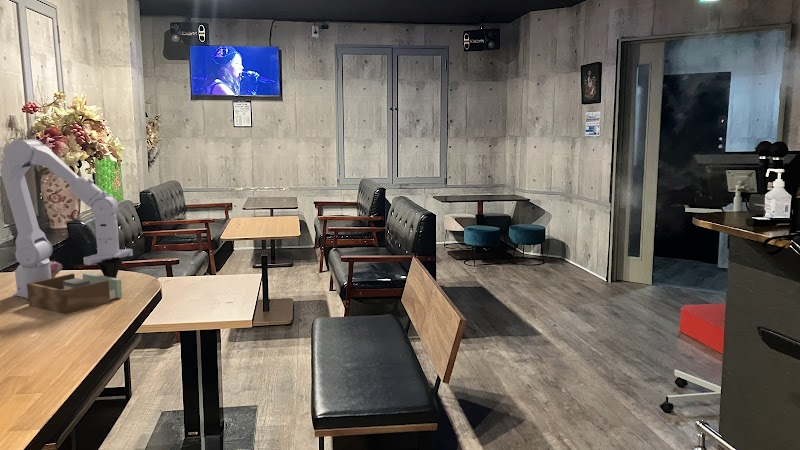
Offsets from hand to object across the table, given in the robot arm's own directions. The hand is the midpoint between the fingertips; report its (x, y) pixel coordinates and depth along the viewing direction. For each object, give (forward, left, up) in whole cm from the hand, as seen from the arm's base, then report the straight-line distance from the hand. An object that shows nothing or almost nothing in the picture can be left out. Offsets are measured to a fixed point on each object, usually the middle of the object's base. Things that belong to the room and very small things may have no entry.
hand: (111, 284), depth 183 cm
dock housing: (0, -12, -2) cm, 12 cm away
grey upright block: (0, -10, -2) cm, 11 cm away
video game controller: (-30, -1, -3) cm, 31 cm away
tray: (0, -8, -2) cm, 9 cm away
